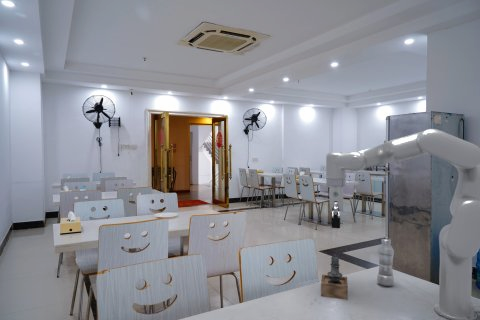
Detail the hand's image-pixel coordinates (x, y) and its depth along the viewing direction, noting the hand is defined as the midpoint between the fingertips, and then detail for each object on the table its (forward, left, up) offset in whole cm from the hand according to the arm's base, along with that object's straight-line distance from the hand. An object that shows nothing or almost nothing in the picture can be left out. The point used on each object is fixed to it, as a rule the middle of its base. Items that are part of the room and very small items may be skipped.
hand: (335, 225), depth 131 cm
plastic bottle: (-21, -15, -28) cm, 38 cm away
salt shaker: (0, 0, -24) cm, 24 cm away
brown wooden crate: (0, 0, -27) cm, 27 cm away
